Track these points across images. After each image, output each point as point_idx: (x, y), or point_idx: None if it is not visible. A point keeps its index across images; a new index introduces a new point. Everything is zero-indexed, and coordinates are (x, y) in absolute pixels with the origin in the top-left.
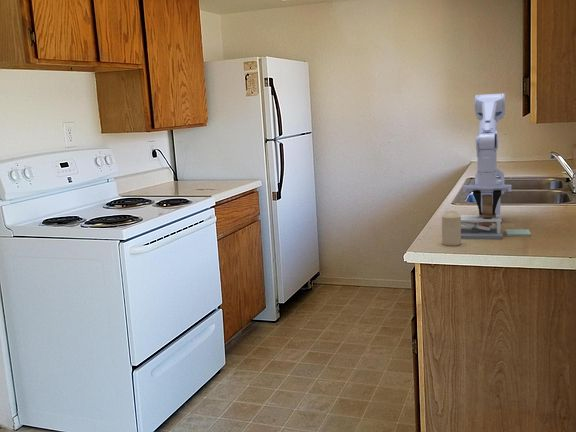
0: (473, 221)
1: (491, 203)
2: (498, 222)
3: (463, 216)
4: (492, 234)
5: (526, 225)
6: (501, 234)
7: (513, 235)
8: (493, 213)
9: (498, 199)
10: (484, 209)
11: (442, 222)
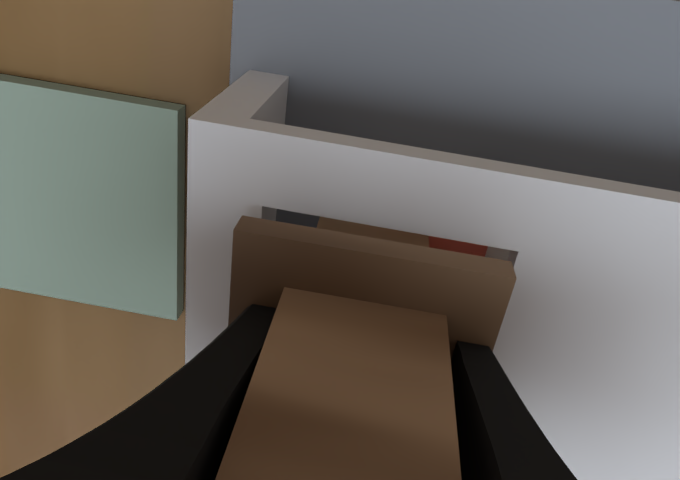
0: (621, 182)
1: (252, 438)
2: (232, 110)
3: (674, 453)
4: (350, 36)
5: (16, 461)
6: (241, 22)
7: (115, 93)
8: (263, 311)
9: (35, 463)
10: (415, 369)
11: None
